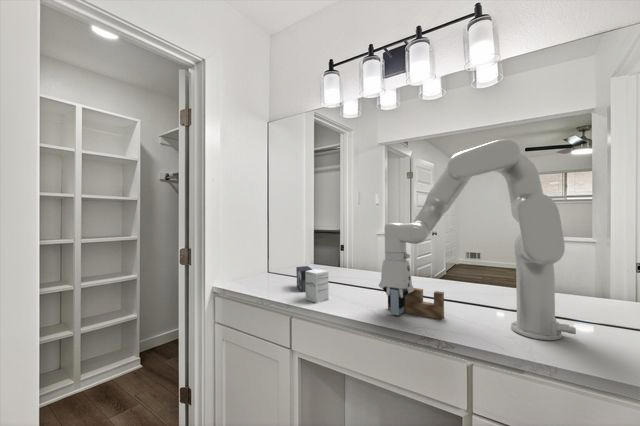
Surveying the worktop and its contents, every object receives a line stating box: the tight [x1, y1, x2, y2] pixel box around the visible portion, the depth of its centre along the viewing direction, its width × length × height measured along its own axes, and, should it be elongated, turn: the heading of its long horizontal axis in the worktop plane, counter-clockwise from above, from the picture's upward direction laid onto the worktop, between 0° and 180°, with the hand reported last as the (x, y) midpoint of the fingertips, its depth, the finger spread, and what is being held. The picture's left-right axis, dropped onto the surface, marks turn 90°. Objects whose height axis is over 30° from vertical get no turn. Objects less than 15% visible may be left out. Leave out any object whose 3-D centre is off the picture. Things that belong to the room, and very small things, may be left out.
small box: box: [295, 265, 314, 293], centre depth 145 cm, size 11×6×10 cm, turn 18°
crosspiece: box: [390, 288, 406, 316], centre depth 111 cm, size 3×14×9 cm, turn 144°
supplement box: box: [305, 268, 329, 304], centre depth 127 cm, size 7×7×13 cm
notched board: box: [387, 287, 445, 321], centre depth 109 cm, size 20×2×9 cm, turn 53°
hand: (396, 306), depth 107 cm, fingers closed on crosspiece, 3 cm apart
